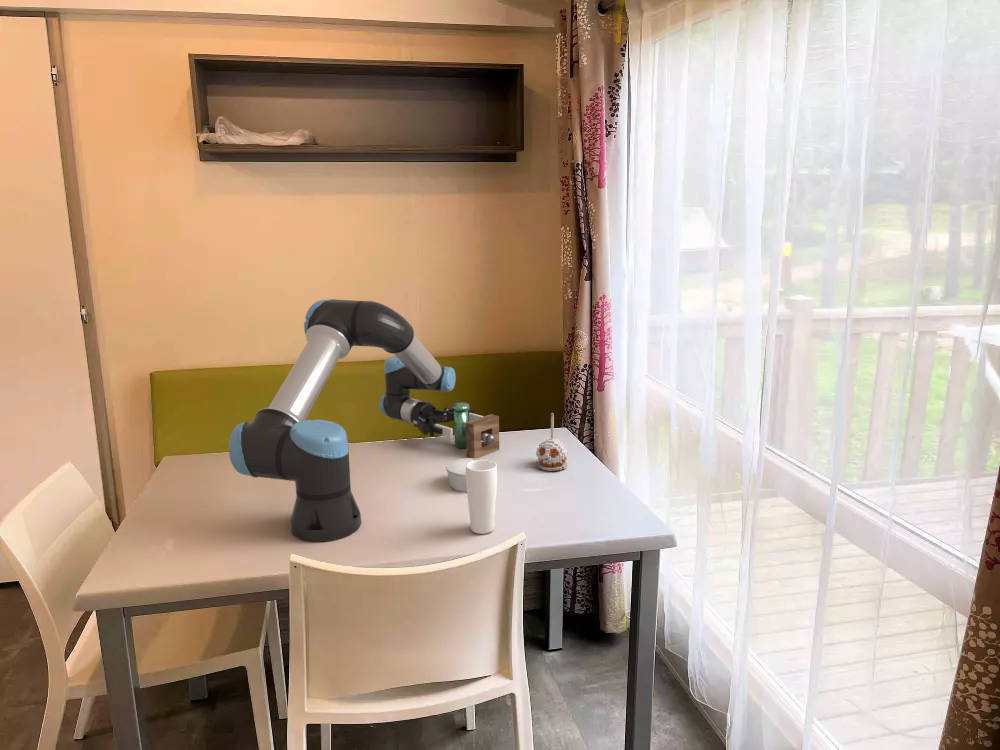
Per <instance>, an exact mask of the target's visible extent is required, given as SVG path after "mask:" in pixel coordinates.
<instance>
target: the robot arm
mask: <svg viewBox="0 0 1000 750" xmlns="http://www.w3.org/2000/svg"><path fill="white" fill-rule="evenodd" d="M304 319H305V321H304V322H303V329H304V334H305V338H306V342H307V343H306V344H305V346H304V347H303V349H302V351H301V353H300V354H299V356H298V357H297V359H296V361H295V363H293V365H292V368H291V369H290V371H289V372H288V375H287V376H286V378H285V379H284V381H283V383H282V385H280V388H279V389H278V391H277V393H276V394H275V396H274V398H273V399H272V401H271V402H270V405H269V406H268V407H265V408H264V407H263V408H261V409H259V410H258V412H256V414H255V415H254V417H253V419H252V421H250V422H247V421H245V422H241V423H238V424H237V425H236V426H235V427H234V429H232V432H231V435H230V437H229V442H228V450H229V451H228V452H229V453H228V456H229V459H230V463H231V464H232V466H233V468H234V470H235V471H236V472H237V473H239V474H241V475H244V476H249V477H252V478H264V479H271V480H272V479H274V480H282V481H292V482H294V483H295V484H294V485H295V494H296V496H295V501H294V506H293V510H292V514H291V517H290V531H291V534H292V535H293V536H294V537H296V538H297V539H298V540H302V541H305V542H316V543H317V542H331V541H335V540H338V539H342V538H346V537H348V536H350V535H352V534H353V533H355V532H356V531H358V529H360V527H361V525H362V514H361V511H360V509H359V506H358V504H357V501H356V499H355V497H354V495H353V493H352V489H351V488H352V487H351V486H352V485H351V472H350V471H351V470H350V457H349V456H350V455H349V452H350V451H349V450H350V447H349V442H348V436H347V431H346V430H345V429H344V428H343V426H341V425H340V424H338V423H336V422H333V421H330V420H324V419H314V420H312V419H307V417H308V416H309V413H310V412H311V410H312V408H313V406H314V404H315V403H316V401H317V399H318V397H319V395H320V393H321V392H322V391H323V389H324V386H325V384H326V383H327V381H328V378H329V377H330V375H331V373H332V372H333V370H334V368H335V366H336V364H337V362H338V361H339V360H341V359H344V358H346V357H347V356H348V355H349V353H350V351H351V349H352V348H353V347H370V348H371V347H373V348H378V349H379V348H380V349H383V350H384V351H385V352H386V353H388V354H393V355H394V356H390V357H388V358H386V359H385V360H384V370H383V371H384V372H383V374H384V388H385V393H384V394H383V395H382V396H381V397H380V400H379V403H378V407H379V411H380V413H381V414H383V415H384V416H386V417H388V418H391V419H393V420H398V421H402V422H404V423H407V424H408V423H409V424H411V425H412V426H413V427H415V428H417V429H418V430H419V431H420V432H421V433H422V435H425V436H426V435H428V434H429V436H430V437H435V435H439V436H442V437H445V438H447V439H454V434H453V433H454V431H453V430H454V429H453V428H452V427H449V426H445V425H441V423H450V422H454V410H452V408H451V407H444V409H443V410H441V409H437V408H436V407H435V405H434V403H433V404H432V403H431V402H428V401H423V400H420V399H416V398H412V397H411V390H415V391H416V390H419V391H430V392H431V391H432V392H439V393H442V392H451V391H453V389H454V388H455V386H456V378H457V377H456V375H457V374H456V371H455V369H454V368H453V367H450V366H446V365H444V366H441V364H440V363H439V362H438V361H437V360H436V358H434V356H433V355H432V354H431V353H430V352H429V350H428V349H427V348H426V347H425V346H424V344H423V343H421V341H420V340H419V339H418V337H416V335H415V330H414V328H413V326H412V325H411V323H410V322H409V321H408V320H407V319H406V318H405V317H403V316H402V314H400V313H398V312H397V311H395V310H394V309H392V308H390V307H389V306H387V305H385V304H383V303H380V302H377V301H372V300H349V299H348V300H347V299H335V298H329V299H321V300H318V301H316V302H314V303H313V304H311V306H309V308H308V309H307V311H306V314H305V317H304ZM481 417H484V415H479V414H476V410H474V409H470V408H469V410H468V422H469V421H472V420H475V419H478V418H481Z"/></svg>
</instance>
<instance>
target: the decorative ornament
mask: <svg viewBox="0 0 1000 750" xmlns="http://www.w3.org/2000/svg"><path fill="white" fill-rule="evenodd" d="M554 415H555V414H554V413H553V412H551V413H550V437H548V439H544V440H543V441H542V442H541V443H539V445H538V447H537V449H536V451H535V453H536V454H535V455H536V457H537V460H538V461H537V463H536V467H538V468H539V469H541V470H542V471H548V472H551V471H553V472H555V471H561V470H565V469H566V468H567V467H568V462H567V461H566V460H567V459H568V448H567V446H566V443H564V442H563V441H561V440H560V439H558V438H554V436H555V433H554V432H555V430H554V427H555V426H554V424H555V422H554V421H555V420H554V419H555V417H554Z"/></svg>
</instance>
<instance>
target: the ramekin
mask: <svg viewBox="0 0 1000 750" xmlns="http://www.w3.org/2000/svg"><path fill="white" fill-rule="evenodd" d="M475 460H482V459H480V458H477V459H475V458H469V457H466V458H459V459H455V460H452V461H450V462H448V464H446V466H445V468H446V473H447V478H448V482H449V484H450V486H451V487H452V489H454V490H455V491H457V492H461V493H462V492H463V493H467V488H466V465H467V463H469V462H471V461H475Z"/></svg>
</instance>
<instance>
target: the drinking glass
mask: <svg viewBox="0 0 1000 750" xmlns="http://www.w3.org/2000/svg"><path fill="white" fill-rule="evenodd" d="M466 488H467V492H466V494H467V504H468V511H469V512H468V514H469V522H470V523H469V525H470V526H469V528H470V530H471V531H472V532H473V533H474V534H478V535H486V534H490V533H491V532H493V531H494V530H495V528H496V508H497V493H498V465H497V463H496V462H495V461H493V460H489V459H481V460H475V461H471V462H469V463H467V465H466Z"/></svg>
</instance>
